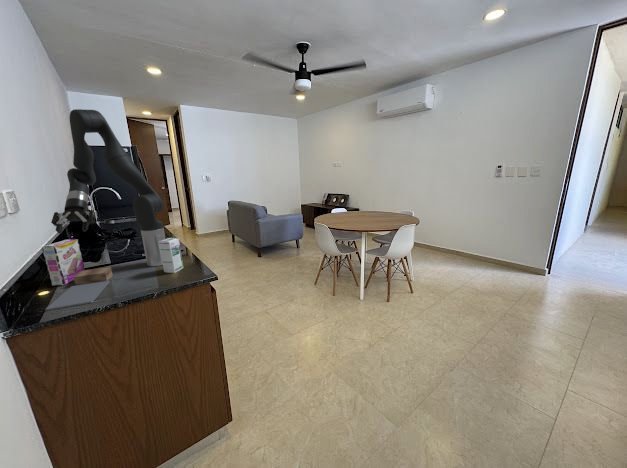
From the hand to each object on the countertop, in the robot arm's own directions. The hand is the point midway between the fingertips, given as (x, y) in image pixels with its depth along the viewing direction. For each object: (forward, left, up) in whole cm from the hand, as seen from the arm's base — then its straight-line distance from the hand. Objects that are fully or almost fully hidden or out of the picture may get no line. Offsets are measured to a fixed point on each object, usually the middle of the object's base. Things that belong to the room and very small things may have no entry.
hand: (71, 231), depth 111 cm
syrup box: (-39, +18, -19) cm, 47 cm away
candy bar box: (0, +11, -19) cm, 22 cm away
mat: (-10, +30, -19) cm, 36 cm away
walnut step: (-10, +16, -19) cm, 27 cm away
